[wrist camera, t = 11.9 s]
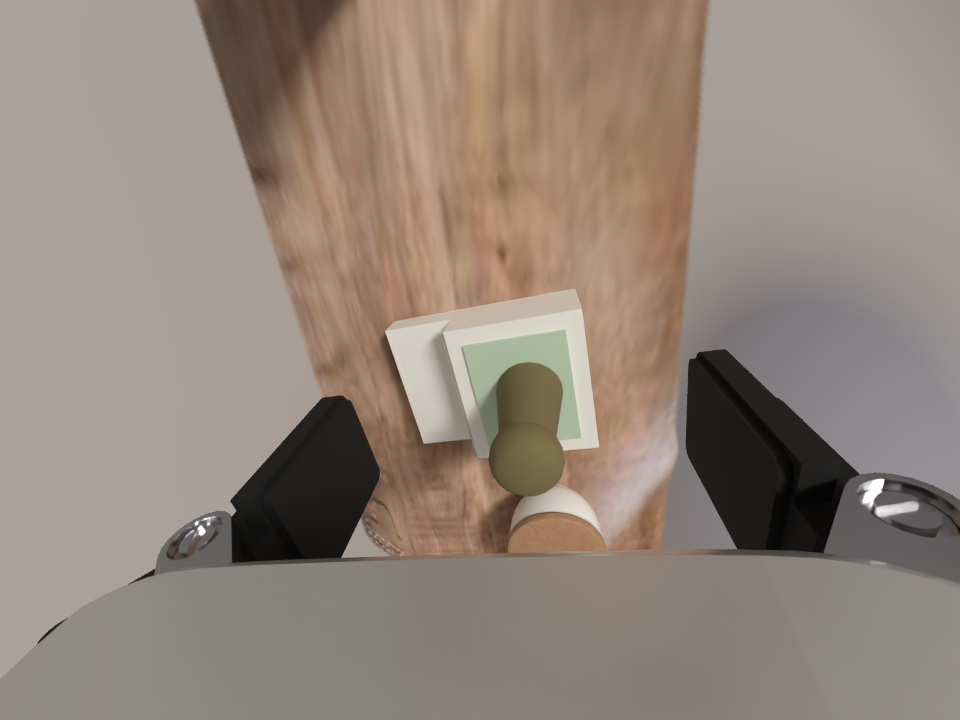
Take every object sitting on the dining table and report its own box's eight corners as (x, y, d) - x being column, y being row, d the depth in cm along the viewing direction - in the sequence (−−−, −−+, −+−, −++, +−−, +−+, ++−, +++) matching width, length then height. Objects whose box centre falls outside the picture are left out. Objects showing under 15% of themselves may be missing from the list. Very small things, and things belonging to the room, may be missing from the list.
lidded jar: (537, 540, 52) (537, 610, 44) (495, 486, 49) (486, 549, 41) (611, 516, 48) (627, 587, 40) (572, 456, 45) (579, 519, 37)
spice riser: (395, 321, 41) (369, 345, 35) (575, 288, 37) (582, 309, 31) (430, 428, 46) (414, 465, 40) (590, 410, 42) (599, 449, 36)
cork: (523, 430, 36) (516, 522, 27) (482, 385, 35) (460, 465, 25) (576, 399, 34) (591, 487, 24) (536, 349, 33) (535, 422, 23)
